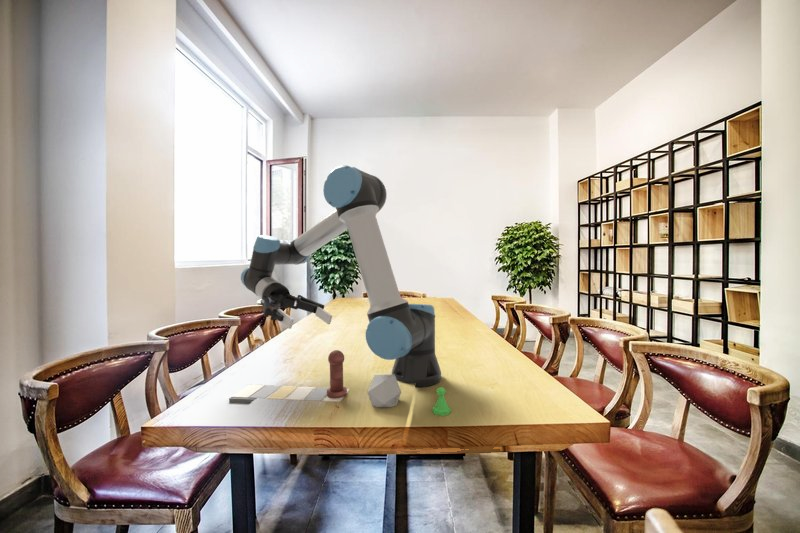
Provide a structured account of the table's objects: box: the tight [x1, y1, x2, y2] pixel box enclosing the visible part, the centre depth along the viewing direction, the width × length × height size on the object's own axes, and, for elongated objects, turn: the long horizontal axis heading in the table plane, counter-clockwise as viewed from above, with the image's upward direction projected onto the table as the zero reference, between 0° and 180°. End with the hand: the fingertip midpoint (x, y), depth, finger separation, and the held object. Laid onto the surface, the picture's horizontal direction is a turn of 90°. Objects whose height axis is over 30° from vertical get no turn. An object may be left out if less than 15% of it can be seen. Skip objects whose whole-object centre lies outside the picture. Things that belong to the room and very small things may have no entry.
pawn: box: [326, 349, 348, 398], centre depth 90 cm, size 5×5×12 cm
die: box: [367, 374, 402, 408], centre depth 85 cm, size 8×9×10 cm
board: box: [228, 383, 350, 404], centre depth 92 cm, size 30×10×1 cm, turn 82°
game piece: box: [431, 386, 451, 416], centre depth 82 cm, size 4×4×6 cm
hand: (312, 322), depth 97 cm, fingers open, 13 cm apart
